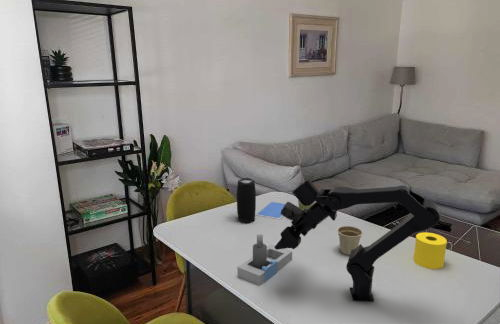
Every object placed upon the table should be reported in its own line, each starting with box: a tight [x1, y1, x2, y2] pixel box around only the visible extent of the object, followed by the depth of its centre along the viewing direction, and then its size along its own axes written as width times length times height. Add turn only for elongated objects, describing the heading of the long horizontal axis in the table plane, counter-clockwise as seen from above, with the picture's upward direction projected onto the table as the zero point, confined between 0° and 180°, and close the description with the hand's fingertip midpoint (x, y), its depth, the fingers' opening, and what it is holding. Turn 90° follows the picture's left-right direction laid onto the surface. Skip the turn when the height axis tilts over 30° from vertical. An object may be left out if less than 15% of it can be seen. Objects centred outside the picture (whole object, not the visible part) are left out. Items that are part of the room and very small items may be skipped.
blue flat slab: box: [255, 201, 286, 221], centre depth 187 cm, size 19×13×1 cm, turn 154°
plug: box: [252, 233, 268, 270], centre depth 130 cm, size 5×5×14 cm
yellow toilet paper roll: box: [413, 231, 448, 270], centre depth 137 cm, size 10×10×9 cm
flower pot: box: [336, 225, 364, 256], centre depth 145 cm, size 9×9×9 cm
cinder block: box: [236, 244, 293, 286], centre depth 134 cm, size 10×21×4 cm, turn 144°
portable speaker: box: [236, 177, 257, 224], centre depth 174 cm, size 9×9×20 cm
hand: (280, 242), depth 126 cm, fingers open, 9 cm apart
